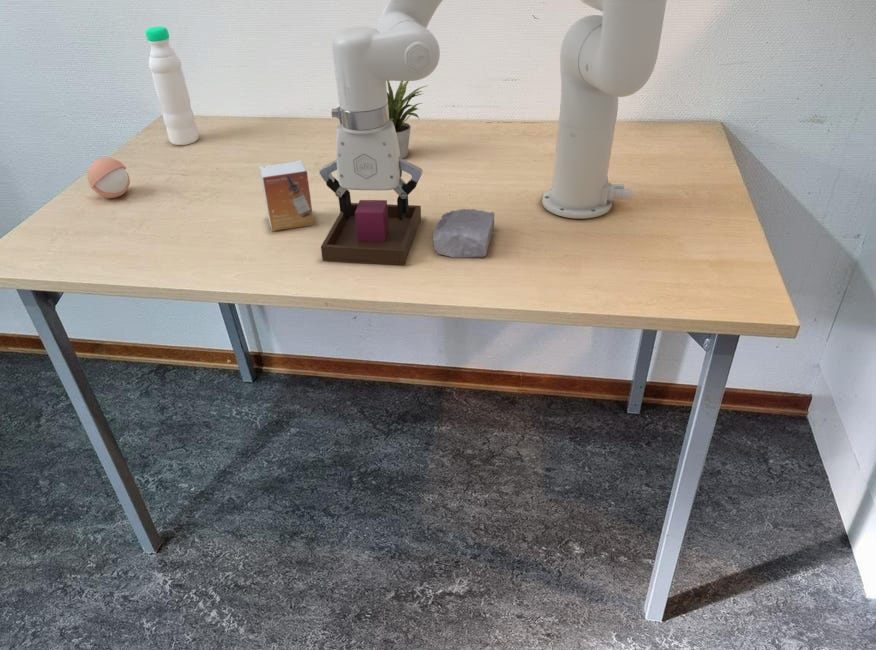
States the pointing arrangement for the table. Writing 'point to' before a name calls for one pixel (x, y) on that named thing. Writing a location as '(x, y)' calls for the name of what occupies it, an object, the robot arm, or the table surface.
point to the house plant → (396, 112)
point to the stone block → (464, 233)
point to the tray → (391, 252)
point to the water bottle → (171, 88)
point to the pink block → (372, 220)
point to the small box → (287, 195)
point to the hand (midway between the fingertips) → (375, 216)
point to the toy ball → (108, 177)
